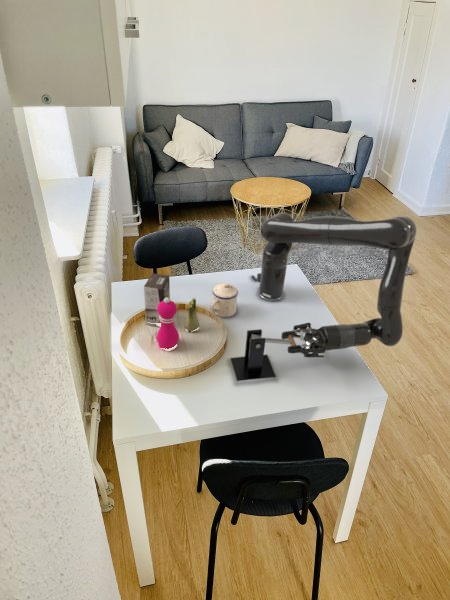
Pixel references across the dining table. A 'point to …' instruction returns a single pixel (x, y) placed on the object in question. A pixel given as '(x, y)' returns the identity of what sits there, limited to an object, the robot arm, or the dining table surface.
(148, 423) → the dining table surface
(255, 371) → the bracket
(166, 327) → the pepper mill
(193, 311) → the fennel bulb
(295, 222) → the robot arm
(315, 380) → the dining table surface
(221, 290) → the teacup with lid
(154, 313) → the coffee box
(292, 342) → the lever
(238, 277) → the dining table surface
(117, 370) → the dining table surface
